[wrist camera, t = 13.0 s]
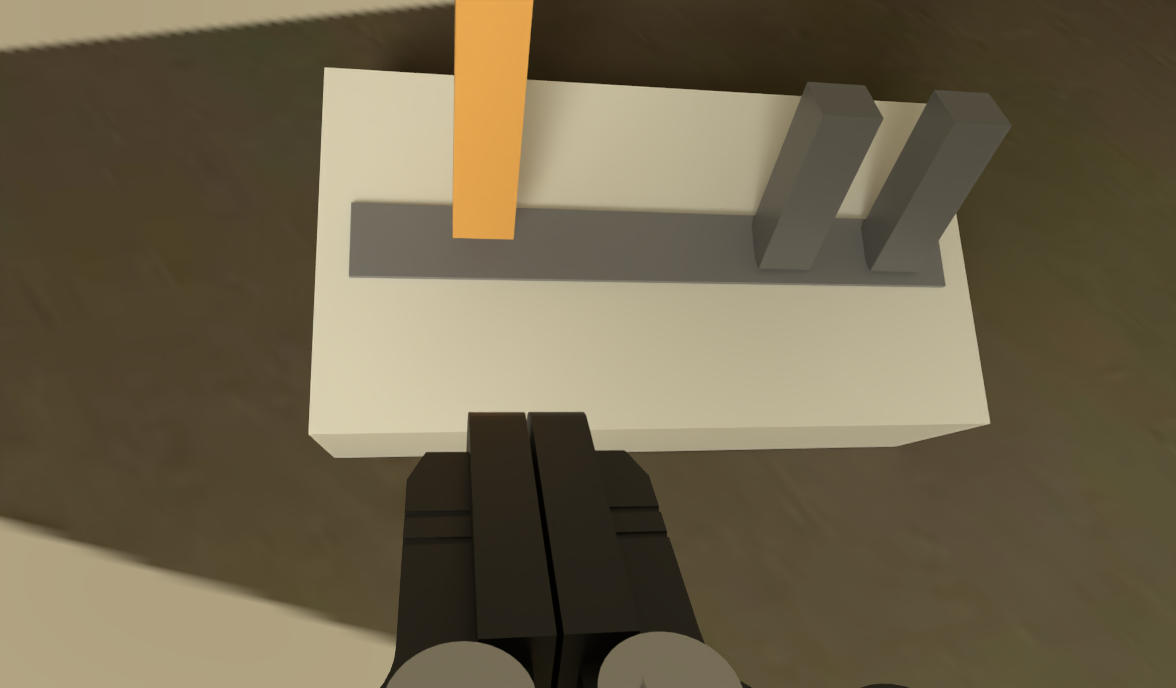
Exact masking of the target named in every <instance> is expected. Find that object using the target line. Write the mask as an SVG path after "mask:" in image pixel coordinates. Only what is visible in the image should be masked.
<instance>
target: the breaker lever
mask: <svg viewBox="0 0 1176 688" xmlns="http://www.w3.org/2000/svg"><path fill="white" fill-rule="evenodd" d="M532 10H533V0H455V43H454V120H453V197H452V216H453V238H473V239H512V240H513V239H514V227H515V215H516V203H517V191H518V179H519V167H520V155H521V143H522V131H523V118H524V106H525V94H526V82H527V70H528V58H529V46H530V34H531V22H532Z"/></svg>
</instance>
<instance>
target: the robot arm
mask: <svg viewBox="0 0 1176 688" xmlns="http://www.w3.org/2000/svg"><path fill="white" fill-rule="evenodd" d="M380 688H751V687H750V686H748V685H746V684H744V683H743V682H741V681H739V679H738V677H737V675H736V674H735V672H734V670H733V669H732V668H731V666H730V665H729V664H728V663H727V661H725V660H724V659H723V658H722V657H721V656H720V655H719V654H718V653H717V652H716V651H714V650H713V649H712V648H710V647H709V646H707V645H705V643H704V641H703V638H702V636H701V633H700V631H699V628H698V624H697V621H696V618H695V615H694V612H693V609H692V606H691V603H690V600H689V597H688V594H687V591H686V588H685V585H684V582H683V579H682V576H681V573H680V569H679V566H678V563H677V560H676V557H675V554H674V551H673V548H672V545H671V542H670V539H669V537H667V530H666V527H665V524H664V521H663V518H662V514H661V512H659V505H658V502H657V499H656V496H655V493H654V490H653V487H652V484H651V481H650V478H649V475H648V474H647V473H646V472H645V471H644V470H643V469H642V468H641V467H640V466H639V465H638V464H637V463H636V462H635V461H634V460H633V458H632V457H631V456H630V455H629V454H628V453H627V452H626V451H625V450H595V448H594V444H593V440H592V436H591V432H590V428H589V424H588V420H587V417H586V414H585V413H584V412H528V415H527V420H526V415H525V412H468V421H467V446H466V452H426V453H425V454H424V456H423V457H422V459H421V460H420V461H419V463H418V464H417V466H416V467H415V469H414V470H413V472H412V473H411V474H410V476H409V477H408V479H407V486H406V502H405V518H404V532H403V548H402V563H401V578H400V594H399V609H398V625H397V640H396V651H395V657H394V662H393V664H392V667H391V670H390V672H389V674H388V676H387V678H386V680H385V682H384V683H383V685H382V686H381V687H380ZM862 688H908V687H904V686H899V685H894V684H874V685H868V686H865V687H862Z"/></svg>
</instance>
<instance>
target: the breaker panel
mask: <svg viewBox="0 0 1176 688" xmlns="http://www.w3.org/2000/svg"><path fill="white" fill-rule="evenodd" d="M453 120H454V75H440V74H424V73H407V72H391V71H374V70H357V69H341V68H325V70H324V93H323V115H322V138H321V161H320V184H319V207H318V230H317V253H316V276H315V299H314V322H313V345H312V368H311V390H310V413H309V435H310V436H311V437H312V438H313V439H314V440H315V441H317V442H318V443H319V444H320V445H321V446H322V447H323V448H324V449H325V450H326V451H328V452H329V453H330V454H331V455H332V456H333V457H334V458H357V457H406V456H424V454H425V453H426V452H466V446H467V421H468V412H525V415H526V420H527V415H528V412H584V413H585V414H586V417H587V420H588V424H589V428H590V432H591V436H592V440H593V444H594V448H595V450H625V451H626V452H649V451H698V450H746V449H795V448H843V447H892V446H900V445H904V444H908V443H912V442H916V441H920V440H924V439H929V438H933V437H937V436H941V435H945V434H949V433H953V432H958V431H962V430H966V429H970V428H974V427H978V426H983V425H987V424H990V419H989V413H988V407H987V401H986V395H985V388H984V382H983V376H982V370H981V364H980V358H979V352H978V345H977V339H976V333H975V327H974V321H973V315H972V308H971V302H970V296H969V290H968V284H967V278H966V272H965V265H964V259H963V253H962V247H961V241H960V235H959V228H958V222H957V216H956V213H957V211H958V210H959V208H960V206H961V205H962V203H963V202H964V200H965V199H966V197H967V195H968V194H969V192H970V191H971V189H972V188H973V186H974V184H975V183H976V181H977V180H978V178H979V177H980V175H981V173H982V172H983V170H984V169H985V167H986V166H987V164H988V162H989V161H990V159H991V158H992V156H993V155H994V153H995V151H996V150H997V148H998V147H999V145H1000V144H1001V142H1002V140H1003V139H1004V137H1005V136H1006V134H1007V133H1008V131H1009V129H1010V128H1011V126H1012V125H1011V124H1010V122H1009V121H1008V120H1007V118H1006V117H1005V115H1004V114H1003V113H1002V111H1001V110H1000V108H999V107H998V106H997V104H996V103H995V101H994V100H993V99H992V97H991V96H990V94H989V93H976V92H961V91H945V90H934V91H933V93H932V95H931V97H930V98H929V100H928V102H927V104H922V103H906V102H889V101H874V100H873V98H872V97H871V95H870V93H869V91H868V89H867V88H866V86H865V85H851V84H835V83H819V82H807V84H806V86H805V89H804V91H803V94H802V96H789V95H773V94H756V93H740V92H723V91H706V90H690V89H673V88H656V87H640V86H623V85H607V84H590V83H573V82H557V81H540V80H527V82H526V94H525V106H524V118H523V131H522V143H521V155H520V167H519V179H518V191H517V203H516V215H515V227H514V239H513V240H512V239H473V238H453V216H452V197H453Z"/></svg>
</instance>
